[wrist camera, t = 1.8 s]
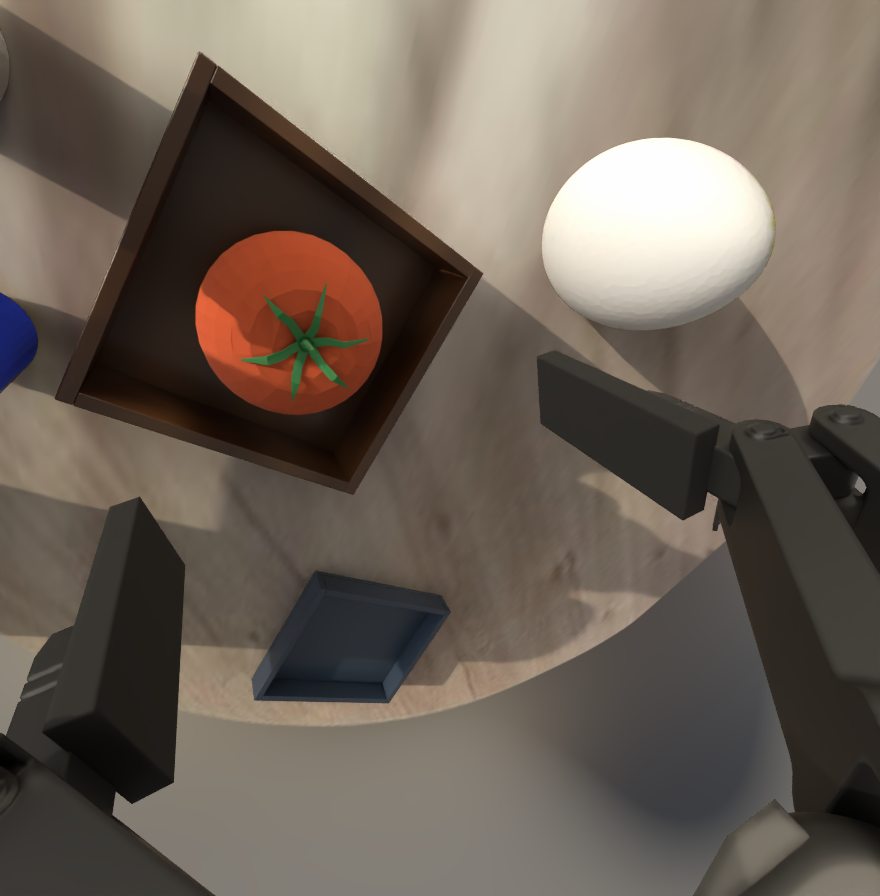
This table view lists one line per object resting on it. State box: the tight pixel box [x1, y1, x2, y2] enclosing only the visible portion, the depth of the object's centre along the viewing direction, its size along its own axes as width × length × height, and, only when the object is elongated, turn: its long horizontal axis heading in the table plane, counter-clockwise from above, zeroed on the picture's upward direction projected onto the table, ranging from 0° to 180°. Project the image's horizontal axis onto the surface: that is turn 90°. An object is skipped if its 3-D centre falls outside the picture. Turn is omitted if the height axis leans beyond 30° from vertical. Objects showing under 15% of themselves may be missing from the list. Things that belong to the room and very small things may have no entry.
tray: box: [252, 571, 451, 703], centre depth 46 cm, size 15×13×2 cm
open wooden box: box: [55, 52, 483, 495], centre depth 29 cm, size 18×18×5 cm
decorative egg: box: [542, 138, 776, 330], centre depth 32 cm, size 12×12×15 cm
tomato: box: [196, 231, 382, 415], centre depth 27 cm, size 10×10×10 cm
